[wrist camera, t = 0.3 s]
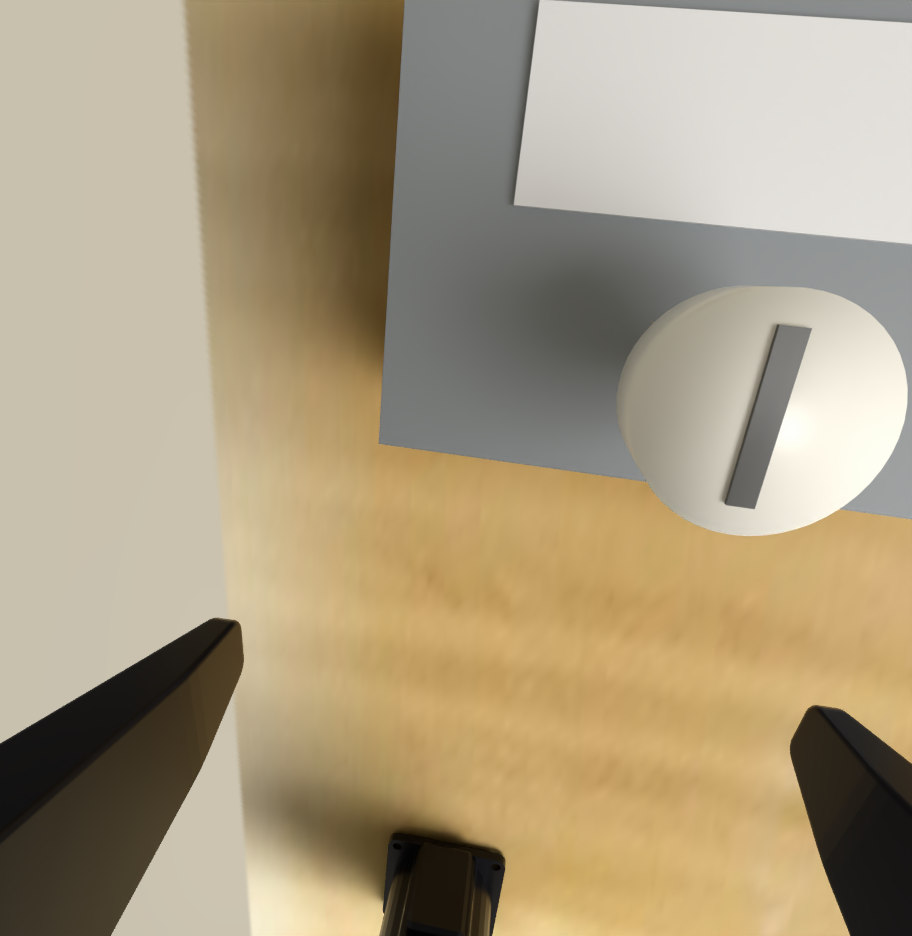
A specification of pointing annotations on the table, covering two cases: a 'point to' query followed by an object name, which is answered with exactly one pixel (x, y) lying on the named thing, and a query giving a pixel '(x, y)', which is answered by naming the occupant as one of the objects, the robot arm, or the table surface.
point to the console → (630, 203)
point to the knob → (761, 406)
